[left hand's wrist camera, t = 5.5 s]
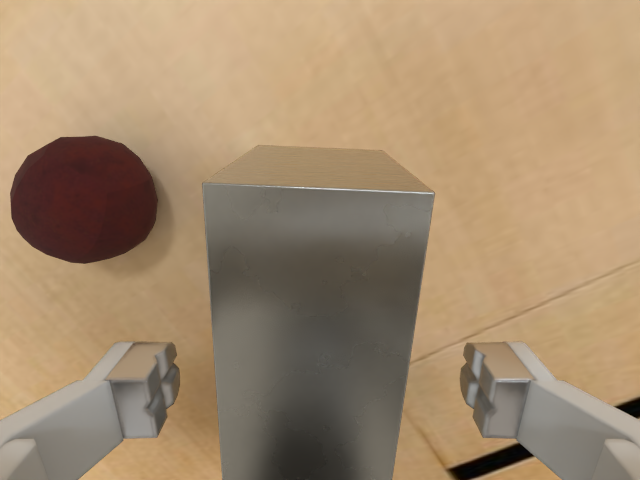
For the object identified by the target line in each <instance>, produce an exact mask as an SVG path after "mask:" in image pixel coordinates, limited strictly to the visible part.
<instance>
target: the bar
mask: <svg viewBox="0 0 640 480" xmlns="http://www.w3.org/2000/svg"><path fill="white" fill-rule="evenodd" d="M202 187H203V202H204V217H205V231H206V246H207V261H208V276H209V290H210V305H211V320H212V334H213V349H214V364H215V379H216V393H217V408H218V423H219V437H220V452H221V467H222V480H392V477H393V470H394V463H395V457H396V450H397V443H398V437H399V430H400V423H401V417H402V410H403V403H404V397H405V390H406V383H407V377H408V370H409V363H410V357H411V350H412V343H413V337H414V330H415V323H416V317H417V310H418V303H419V297H420V290H421V283H422V277H423V270H424V263H425V257H426V250H427V243H428V237H429V230H430V223H431V217H432V210H433V203H434V197H435V192H434V191H432V190H431V189H430V188H429V187H427V186H426V185H425V184H424V183H422V182H421V181H420V180H419V179H417V178H416V177H415V176H414V175H412V174H411V173H410V172H409V171H407V170H406V169H405V168H404V167H402V166H401V165H400V164H399V163H397V162H396V161H395V160H394V159H392V158H391V157H390V156H389V155H387V154H386V153H385V152H384V151H382V150H359V149H336V148H312V147H289V146H266V145H258V146H256V147H255V148H253V149H252V150H250V151H249V152H247V153H246V154H244V155H243V156H241V157H240V158H238V159H237V160H235V161H234V162H233V163H231V164H230V165H228V166H227V167H225V168H224V169H222V170H221V171H219V172H218V173H216V174H215V175H213V176H212V177H210V178H209V179H207V180H206V181H204V182H203V183H202Z"/></svg>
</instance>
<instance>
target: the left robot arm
mask: <svg viewBox="0 0 640 480" xmlns="http://www.w3.org/2000/svg"><path fill="white" fill-rule="evenodd" d="M176 356H177V353H176V348H175V345H174V344H173V343H172V342H117V343H114V344H113V346H112V347H111V348H110V349H109V350H108V351H107V353H106V354H105V355H104V356H103V357H102V358H101V359H100V361H99V362H98V363H97V364H96V365H95V366H94V368H93V369H92V370H91V371H90V372H89V373H88V375H87V376H86V377H85V378H84V379H83V380H82V381H75V382H73V383H71V384H69V385H67V386H65V387H63V388H61V389H59V390H57V391H56V392H54V393H52V394H50V395H48V396H46V397H44V398H42V399H40V400H38V401H36V402H34V403H32V404H31V405H29V406H27V407H25V408H23V409H21V410H19V411H17V412H15V413H13V414H11V415H9V416H7V417H6V418H4V419H2V420H0V480H78V479H79V478H80V477H82V476H83V475H84V474H85V473H86V472H87V471H89V470H90V469H91V468H92V467H93V466H94V465H95V464H97V463H98V462H99V461H100V460H101V459H102V458H104V457H105V456H106V455H107V454H108V453H109V452H111V451H112V450H113V449H114V448H115V447H116V446H118V445H119V444H120V443H121V442H122V441H123V439H127V438H157V437H158V435H159V433H160V431H161V429H162V427H163V425H164V423H165V421H166V419H167V412H166V409H167V408H168V407H170V406H171V405H173V404H174V402H175V400H176V398H177V395H178V391H179V386H180V372H179V368H178V367H177V366H176V365H175V364H174V363H173V361H174V359H175V358H176ZM463 356H464V358H465V359H466V361H467V363H466V364H465V365H464V366H463V367H462V368H461V373H460V386H461V391H462V395H463V398H464V400H465V402H466V404H467V405H469V406H470V407H472V408H473V409H474V412H473V419H474V421H475V423H476V425H477V427H478V429H479V431H480V433H481V435H482V437H483V438H513V439H517V441H518V442H519V443H520V444H521V445H523V446H524V447H525V448H526V449H527V450H528V451H530V452H531V453H532V454H533V455H534V456H535V457H537V458H538V459H539V460H540V461H541V462H542V463H543V464H545V465H546V466H547V467H548V468H549V469H550V470H552V471H553V472H554V473H555V474H556V475H557V476H559V477H560V478H561V479H562V480H640V420H638V419H636V418H634V417H632V416H630V415H629V414H627V413H625V412H623V411H621V410H619V409H617V408H615V407H613V406H611V405H609V404H607V403H606V402H604V401H602V400H600V399H598V398H596V397H594V396H592V395H590V394H588V393H586V392H584V391H583V390H581V389H579V388H577V387H575V386H573V385H571V384H569V383H567V382H565V381H558V380H557V379H556V378H555V377H554V376H553V375H552V373H551V372H550V371H549V370H548V369H547V368H546V366H545V365H544V364H543V363H542V362H541V361H540V360H539V358H538V357H537V356H536V355H535V354H534V353H533V351H532V350H531V349H530V348H529V347H528V346H527V344H526V343H524V342H522V341H513V342H486V343H466V345H465V347H464V353H463Z"/></svg>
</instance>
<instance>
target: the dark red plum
mask: <svg viewBox="0 0 640 480" xmlns="http://www.w3.org/2000/svg"><path fill="white" fill-rule="evenodd" d="M10 196H11V215H12V220H13V222H14V224H15V227H16V229H17V231H18V232H19V233H20V235H21V236H22V237H23V238H24V239H25V240H26V241H27V242H28V243H29V244H30V245H31V246H32V247H34V248H36V249H38V250H39V251H41V252H43V253H45V254H47V255H49V256H53V257H56V258H59V259H62V260H65V261H68V262H72V263H84V264H85V263H91V262H96V261H101V260H105V259H109V258H113V257H115V256H118V255H121V254H124V253H126V252H128V251H129V250H131V249H133V248H134V247H136V246H137V245H138V244H140V243H141V242H143V241H144V240H145V239H146V237H147V236H148V234H149V232H150V231H151V229H152V228H153V226H154V223H155V220H156V211H157V201H158V199H157V195H156V192H155V188H154V184H153V180H152V177H151V175H150V173H149V172H148V170H147V169H146V167H145V165H144V164H143V162H142V161H141V159H140V158H139V157H138V156H137V155H136V154H134V153H133V152H132V151H131V150H130V149H128V148H127V147H126V146H125V145H124V144H121V143H118V142H115V141H111V140H108V139H105V138H101V137H98V136H87V137H60V138H58V139H57V140H55V141H53V142H51V143H49V144H48V145H46V146H44V147H42V148H41V149H39V150H37V151H35V152H34V153H32V154H30V155H28V156H27V158H26V159H25V161H24V162H23V164H22V165H21V167H20V168H19V170H18V172H17V173H16V175H15V178H14V181H13V185H12V189H11V192H10Z"/></svg>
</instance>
